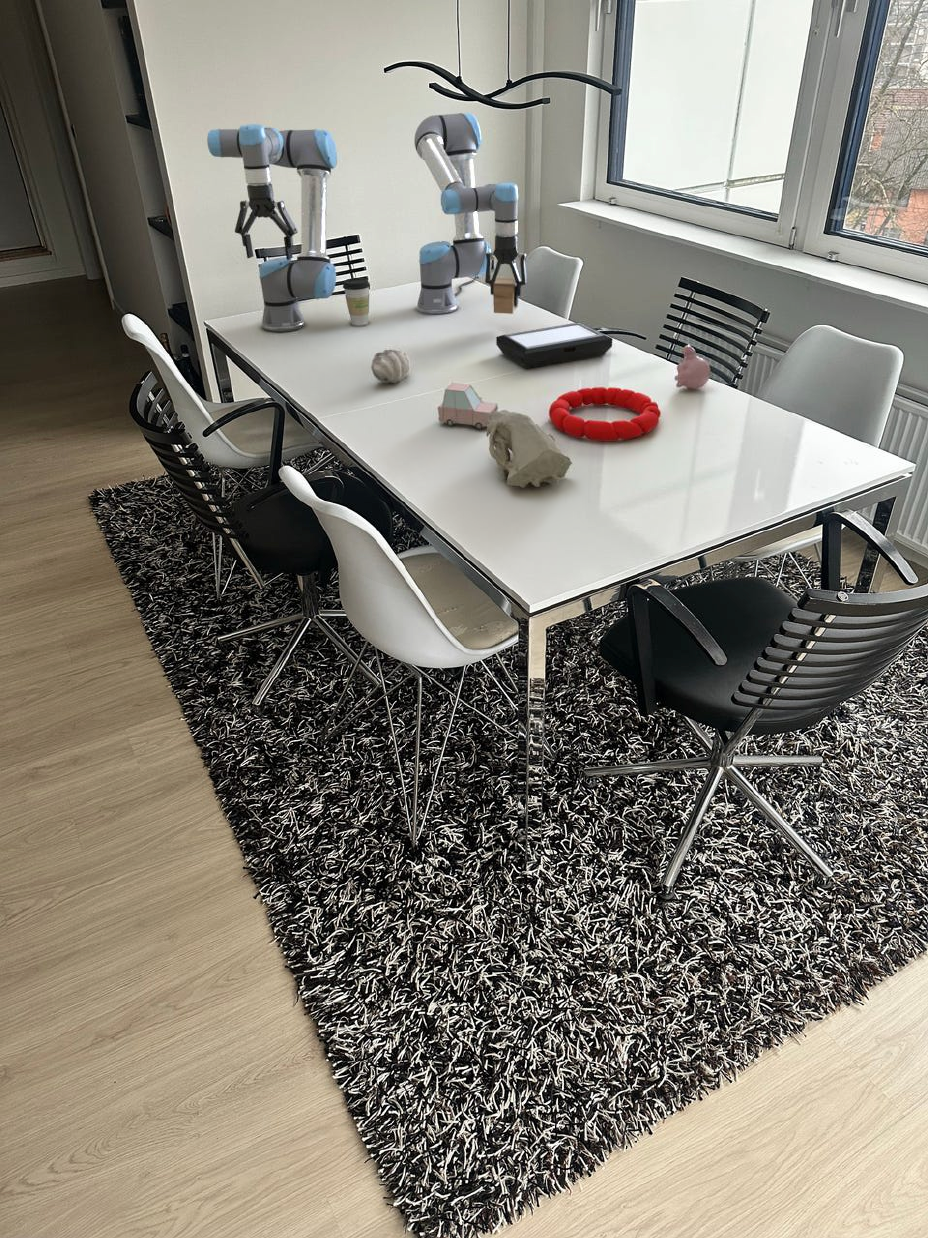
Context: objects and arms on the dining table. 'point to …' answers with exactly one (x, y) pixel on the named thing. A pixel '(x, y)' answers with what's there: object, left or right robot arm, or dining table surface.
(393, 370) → the seashell
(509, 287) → the block
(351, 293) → the coffee cup
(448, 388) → the toy car
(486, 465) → the dining table surface
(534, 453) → the grey rough stone chunk
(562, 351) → the electronic device
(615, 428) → the decorative ring
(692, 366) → the figurine
